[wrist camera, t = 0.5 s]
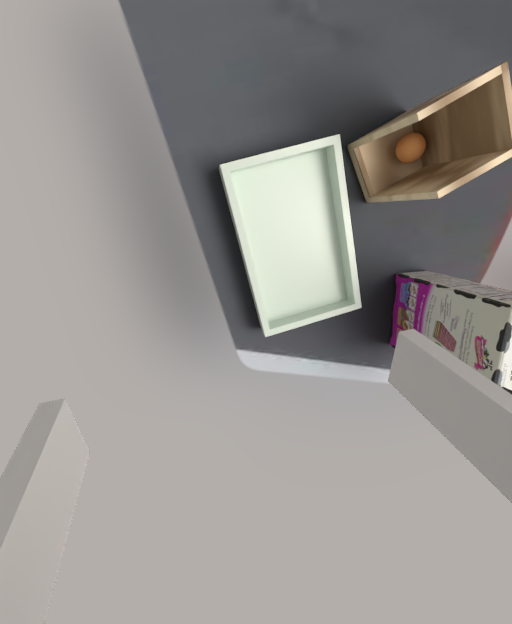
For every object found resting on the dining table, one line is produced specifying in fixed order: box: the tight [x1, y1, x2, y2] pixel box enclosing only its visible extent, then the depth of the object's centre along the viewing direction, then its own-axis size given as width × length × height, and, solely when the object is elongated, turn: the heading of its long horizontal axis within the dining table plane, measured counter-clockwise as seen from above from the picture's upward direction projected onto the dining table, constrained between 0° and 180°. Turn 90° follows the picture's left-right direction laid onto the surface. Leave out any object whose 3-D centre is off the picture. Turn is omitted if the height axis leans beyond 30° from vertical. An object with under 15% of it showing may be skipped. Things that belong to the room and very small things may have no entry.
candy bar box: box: [390, 271, 512, 390], centre depth 35 cm, size 11×5×16 cm, turn 4°
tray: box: [219, 134, 362, 337], centre depth 35 cm, size 20×13×3 cm, turn 14°
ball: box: [396, 133, 426, 163], centre depth 33 cm, size 3×3×3 cm
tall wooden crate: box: [347, 61, 512, 203], centre depth 30 cm, size 8×7×12 cm
